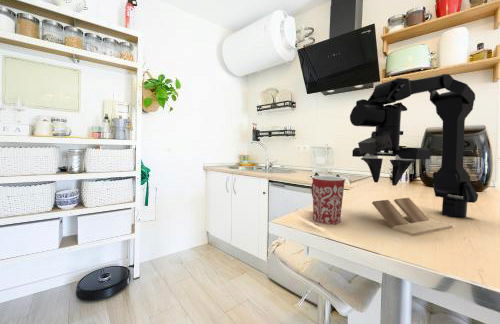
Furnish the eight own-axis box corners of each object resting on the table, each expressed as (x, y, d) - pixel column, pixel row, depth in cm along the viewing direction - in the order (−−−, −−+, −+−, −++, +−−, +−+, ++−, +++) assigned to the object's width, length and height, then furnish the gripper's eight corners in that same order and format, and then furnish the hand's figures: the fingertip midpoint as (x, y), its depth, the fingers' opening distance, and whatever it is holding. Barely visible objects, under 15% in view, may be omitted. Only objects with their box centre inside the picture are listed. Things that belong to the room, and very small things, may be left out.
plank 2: (406, 199, 67) (408, 197, 67) (428, 221, 62) (430, 220, 61) (393, 200, 65) (395, 199, 65) (414, 224, 60) (416, 222, 59)
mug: (350, 228, 59) (352, 179, 58) (319, 230, 57) (321, 179, 56) (326, 214, 71) (328, 173, 70) (300, 215, 70) (301, 174, 69)
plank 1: (386, 201, 64) (388, 199, 64) (406, 225, 59) (408, 223, 58) (371, 202, 62) (373, 201, 61) (391, 227, 57) (393, 226, 56)
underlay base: (399, 216, 70) (399, 211, 70) (452, 232, 57) (452, 225, 57) (362, 221, 64) (362, 215, 64) (412, 240, 51) (412, 233, 51)
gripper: (339, 129, 65) (337, 180, 66) (402, 122, 48) (398, 192, 49) (366, 130, 69) (364, 179, 70) (433, 124, 52) (429, 189, 53)
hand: (384, 183), depth 60 cm, fingers open, 5 cm apart
